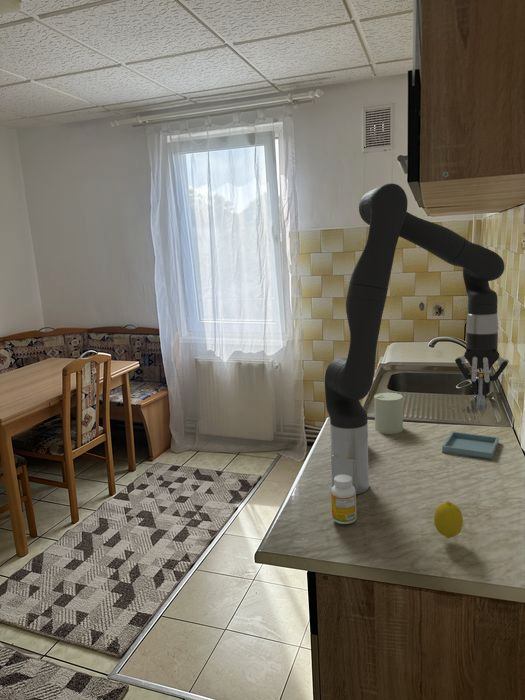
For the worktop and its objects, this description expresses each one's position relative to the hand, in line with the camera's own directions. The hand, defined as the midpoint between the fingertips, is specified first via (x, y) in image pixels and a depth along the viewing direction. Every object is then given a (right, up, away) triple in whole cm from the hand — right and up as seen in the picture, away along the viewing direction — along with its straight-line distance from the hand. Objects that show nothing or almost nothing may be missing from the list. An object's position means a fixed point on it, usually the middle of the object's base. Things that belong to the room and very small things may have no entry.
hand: (480, 394), depth 136 cm
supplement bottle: (-40, -26, -21) cm, 52 cm away
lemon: (-20, -27, -31) cm, 46 cm away
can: (-17, -15, +32) cm, 39 cm away
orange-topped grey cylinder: (0, -4, +1) cm, 4 cm away
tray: (+3, -17, +13) cm, 22 cm away
